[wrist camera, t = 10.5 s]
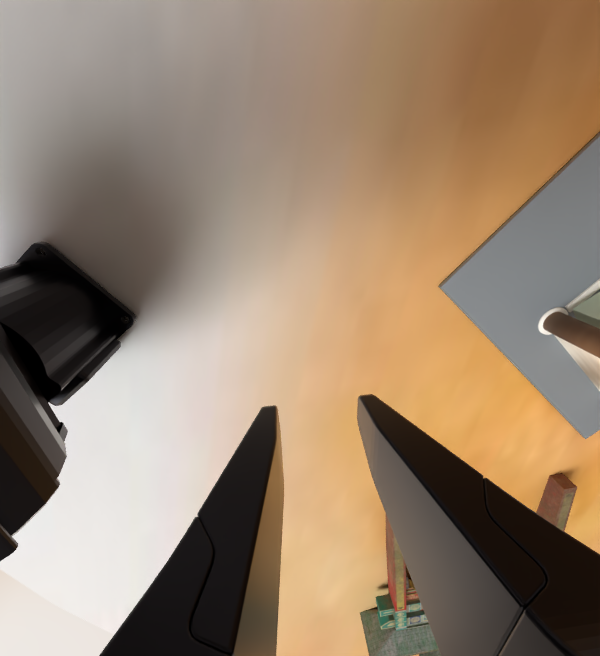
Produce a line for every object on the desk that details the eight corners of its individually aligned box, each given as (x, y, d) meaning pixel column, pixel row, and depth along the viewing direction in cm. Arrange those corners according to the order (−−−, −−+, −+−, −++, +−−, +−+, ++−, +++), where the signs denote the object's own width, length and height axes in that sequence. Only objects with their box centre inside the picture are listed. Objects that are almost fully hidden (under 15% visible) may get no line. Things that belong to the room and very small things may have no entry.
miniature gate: (634, 494, 28) (570, 652, 39) (577, 450, 33) (536, 601, 44) (356, 546, 27) (373, 692, 38) (343, 493, 32) (361, 635, 43)
